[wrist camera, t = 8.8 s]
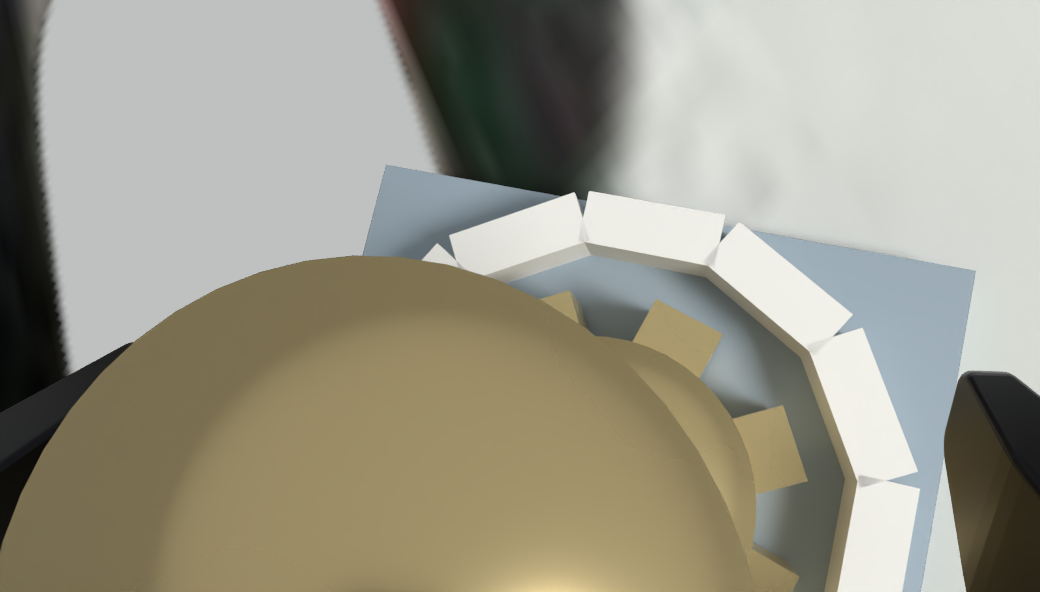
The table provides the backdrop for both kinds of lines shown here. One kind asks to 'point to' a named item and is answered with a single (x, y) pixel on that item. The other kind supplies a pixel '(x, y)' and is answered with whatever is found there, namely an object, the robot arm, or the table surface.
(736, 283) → the gear board
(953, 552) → the table surface
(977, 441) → the robot arm
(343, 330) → the brass gear
